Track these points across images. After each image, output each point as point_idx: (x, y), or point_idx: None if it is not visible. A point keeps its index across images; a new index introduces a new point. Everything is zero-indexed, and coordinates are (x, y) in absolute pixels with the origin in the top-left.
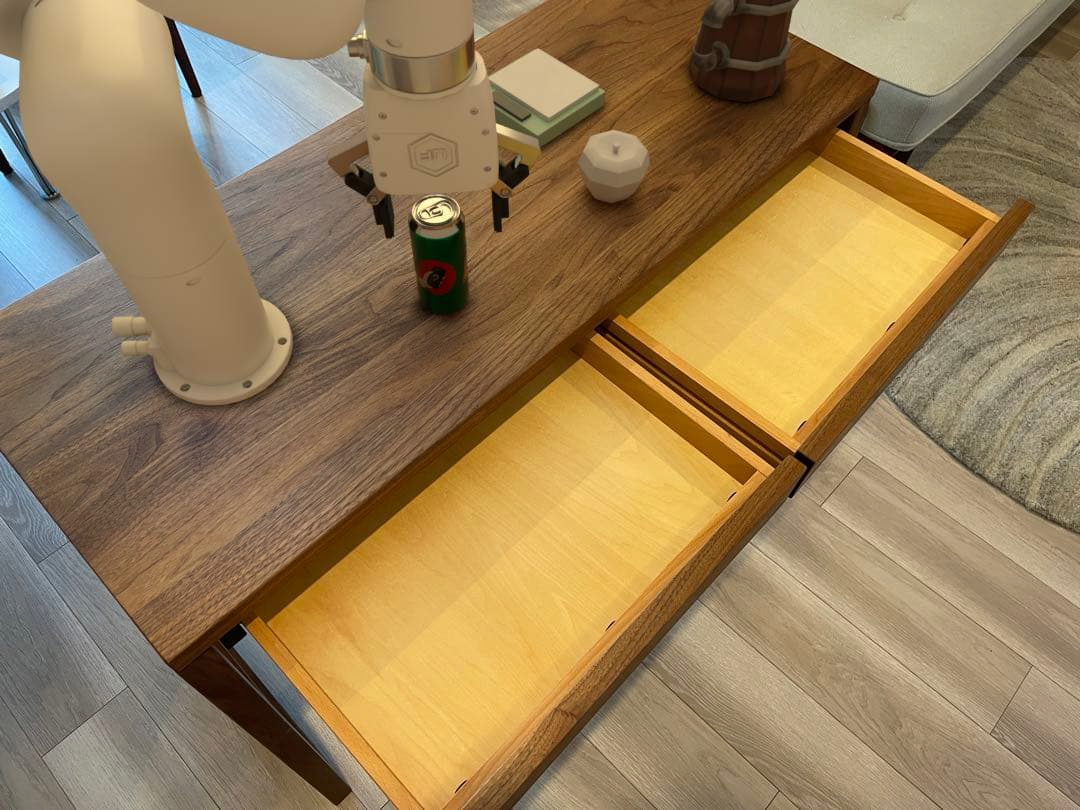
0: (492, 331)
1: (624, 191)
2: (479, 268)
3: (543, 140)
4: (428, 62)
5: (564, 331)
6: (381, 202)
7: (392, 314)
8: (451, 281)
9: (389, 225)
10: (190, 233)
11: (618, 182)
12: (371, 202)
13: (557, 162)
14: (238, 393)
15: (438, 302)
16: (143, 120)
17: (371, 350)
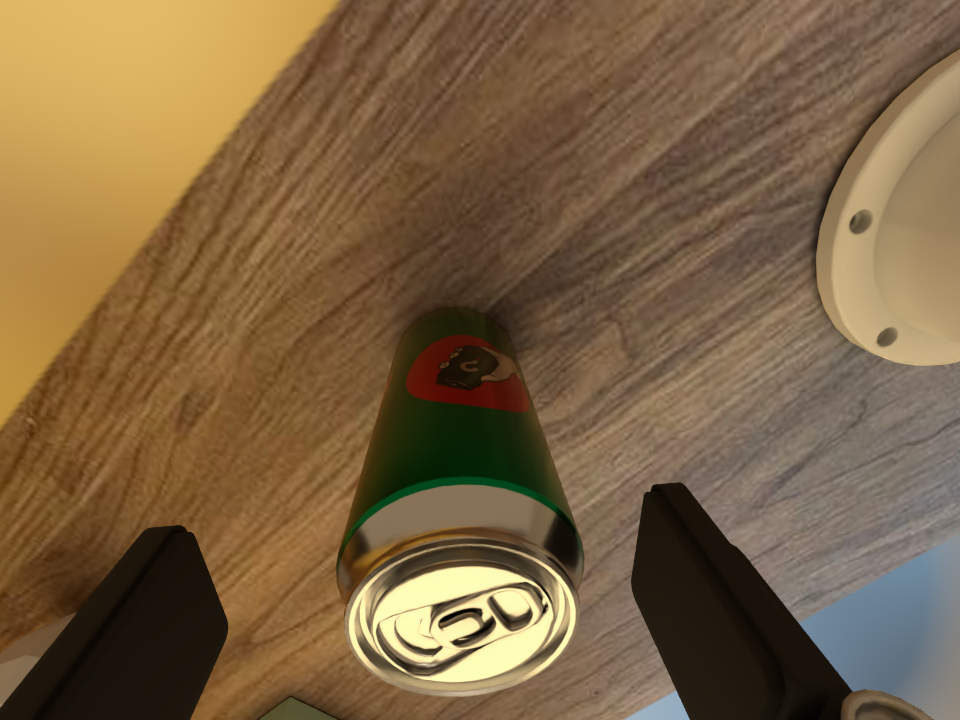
0: (329, 262)
1: (32, 640)
2: None
3: (275, 717)
4: None
5: (134, 258)
6: (813, 709)
7: (577, 317)
8: (422, 361)
9: (694, 545)
10: None
11: (12, 672)
12: (885, 709)
13: (246, 675)
14: None
15: (466, 323)
16: None
17: (634, 207)
